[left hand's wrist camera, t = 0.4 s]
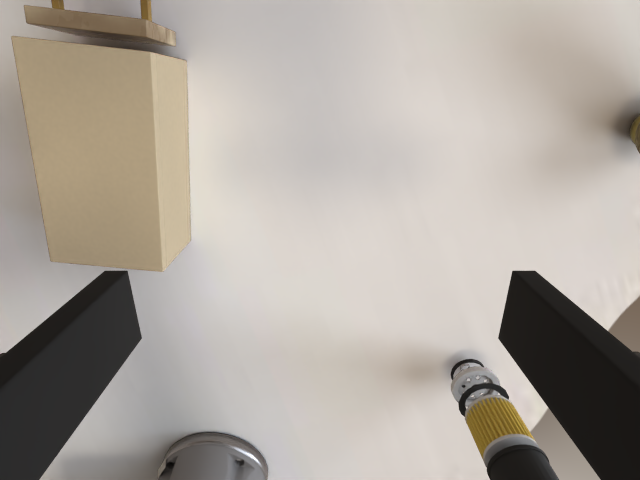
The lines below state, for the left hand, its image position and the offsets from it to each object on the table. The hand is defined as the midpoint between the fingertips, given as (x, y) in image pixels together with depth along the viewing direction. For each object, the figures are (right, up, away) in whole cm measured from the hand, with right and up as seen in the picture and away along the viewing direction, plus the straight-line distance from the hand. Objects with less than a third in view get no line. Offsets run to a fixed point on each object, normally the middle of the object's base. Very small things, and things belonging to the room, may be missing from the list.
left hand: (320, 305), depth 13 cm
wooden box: (-18, +11, +25) cm, 33 cm away
